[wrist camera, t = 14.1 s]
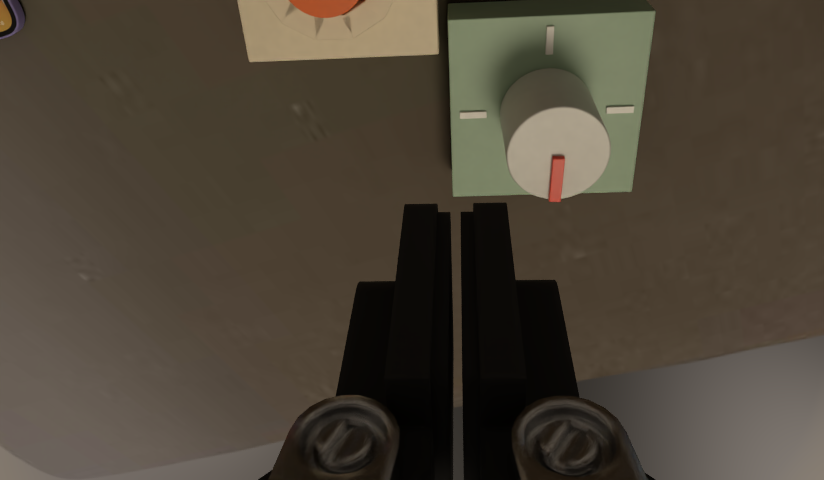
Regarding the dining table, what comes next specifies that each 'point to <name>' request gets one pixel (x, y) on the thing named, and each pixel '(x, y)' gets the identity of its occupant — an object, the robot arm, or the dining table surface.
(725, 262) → the dining table surface
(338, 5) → the button
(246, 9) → the housing
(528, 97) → the timer dial
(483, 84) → the dial panel
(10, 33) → the smartphone
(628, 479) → the robot arm
